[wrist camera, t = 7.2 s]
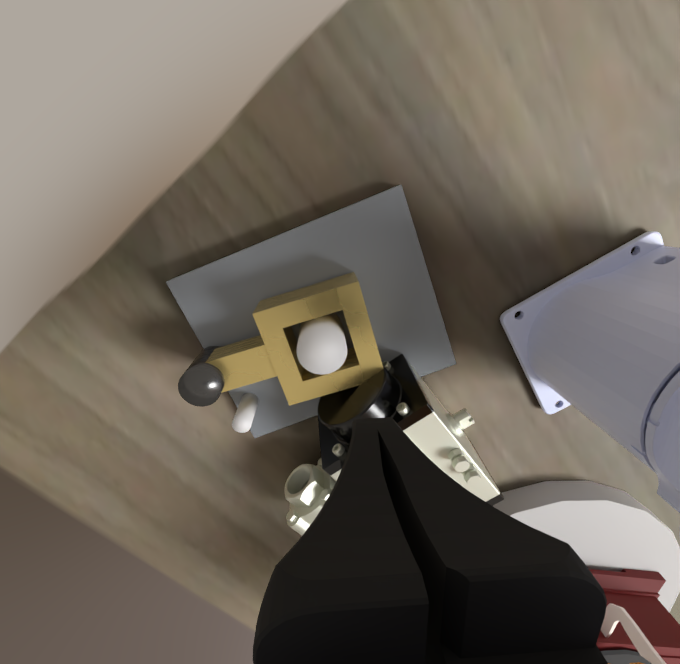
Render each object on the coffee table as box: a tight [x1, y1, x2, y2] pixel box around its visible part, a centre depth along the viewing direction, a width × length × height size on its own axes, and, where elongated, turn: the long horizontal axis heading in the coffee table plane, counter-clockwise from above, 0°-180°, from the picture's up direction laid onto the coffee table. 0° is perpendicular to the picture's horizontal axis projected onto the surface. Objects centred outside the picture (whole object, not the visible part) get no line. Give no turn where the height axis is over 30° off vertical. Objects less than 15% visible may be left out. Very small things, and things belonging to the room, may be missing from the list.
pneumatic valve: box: [284, 354, 504, 535], centre depth 21 cm, size 6×12×12 cm
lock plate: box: [166, 185, 456, 438], centre depth 19 cm, size 13×10×4 cm
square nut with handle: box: [178, 272, 384, 406], centre depth 19 cm, size 5×10×3 cm, turn 107°
